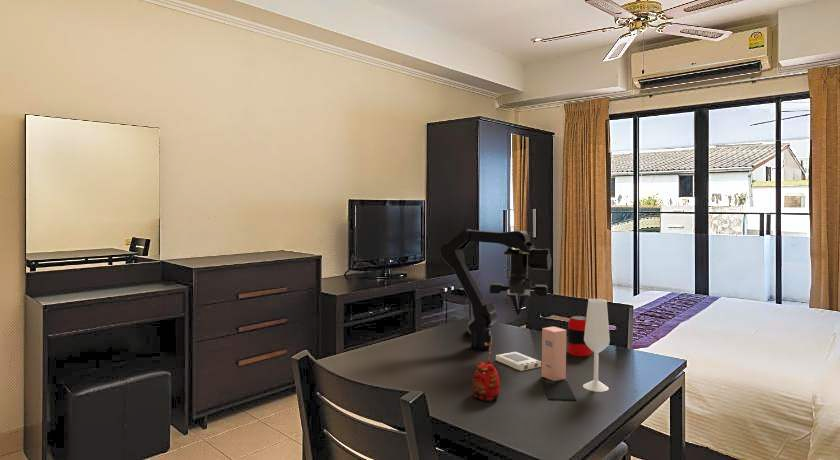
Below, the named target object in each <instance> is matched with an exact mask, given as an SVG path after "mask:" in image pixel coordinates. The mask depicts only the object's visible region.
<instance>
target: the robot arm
mask: <svg viewBox="0 0 840 460" xmlns="http://www.w3.org/2000/svg"><path fill="white" fill-rule="evenodd" d="M471 242H479V243H489V244H490V243H491V244H500V245H503V246H506V247H508V248H507V249H506V250H505V251H504V252H503V254H504V255H510V256H509V257H510V258H509V260H510V261H509V262H510V263H509V279H508V285H504V283H503V282H502V283H501V282H492V283H491V284H490V286H489V294H500V293H501V292H506V293H507V294H506V296H507V297H509V298H510V300H511V301H512V303H513V307H514V310H515V313H516V316H520V314H521V311H522V308H523V305H524V302H525V301H526V298H530V296H531V293H534V294H536V296H543V297H544V296H545V297H546V296H548V290H549V289H548V286H547V284H535V285H534V286H532V278H528V267H530V268H531V269H532V270H542V271H543V270H544V271H550V270H551V268H552V256H551V253H550V252H551V250H550V248H544V249H543V248H542V249H541V248H536V247H535V245H534V244H533V243H532V241H531V239H530V235H529V233H528V232H527V231H526V230H521V229H519V230H512V231H502V232H499V231H487V230H486V231H485V230H476V229H474V230H473V229H470V228H468V229H463V230H461V232H459V234H458V235H457V236H455V237H453V238H452V239H451V240H450V241H449V242H447V243H444V244H442V246H441V248H440V251H439V254H440V256H441V258H442V259H443V261H444V262H445V263H446V264H447V265H448V266H449V267H450V268H452V269H453V271H454V273H455V276H456V277H457V279H458V281H459V283H460V284H461V285H460V286H461V287H462V289H463V291H464V293H465V295H466V297H467V298H468V300H469V301H468V302H470V304H471V311H472V317H473V316H474V319H475V320H474V321H473V322H472V323H471V324H470V325H469V326H468V325H467V327H469V330H470V332H471V334H470V347H469V349H470V350H477V351H478V350H481V351H489V346H488V345H487V346H485V342H487V344H489V342H491V339H493V337H492V336H493V334H492V333H491V334H490V331H491V329H492V327H493V325H494V324H495V323H496V322H497V319H498V315H497V312H498V310H497V309H496V308H495V306H494V303H493V302H492V301H489V302H487V300H486V299H485V298H484V297H483V295H482V293H481V292H480V291H481V290H480V289H479V287H478V286H477V284H476V282H475V280H474V278H473V276H472V274H471V272H470V270H469V268H468V266H467V265H466V260H465V253H464V251H463V250H464V249H466V247H467V246H468V245H469V244H470V243H471ZM518 294H519V301H518ZM491 343H492V345H493V341H492V342H491ZM492 345H491V347H492Z"/></svg>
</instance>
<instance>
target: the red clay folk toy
mask: <svg viewBox="0 0 840 460" xmlns="http://www.w3.org/2000/svg"><path fill="white" fill-rule="evenodd" d="M491 342H492V343H491ZM491 342H489V344H487V342H485V346H487V345H488V346H489V350H488V357H487V361H486V362H483V361H478V363H477V365H476V369H475V371H474V373H473V377H472V379H471V381H472V388H471V389H472V395H473V397H474V398H477V399H479V400H480V401H483V402H493V400H496V399H498V398H499V396H500V391H501V379H500V377H499V371H498V370H497V369H496V367H495V366H494V365H493V364H492V361H491V356H492V352H491V351H492V346H491V345H493V338H492V339H491Z"/></svg>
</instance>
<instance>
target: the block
mask: <svg viewBox="0 0 840 460" xmlns="http://www.w3.org/2000/svg"><path fill="white" fill-rule="evenodd" d="M541 330H542V331H541V334H542V335H541V377H542V378H545V379H546V380H553V381H557V380H566V377H567V376H566V375H567V373H566V372H567V370H566V369H567V332H568V329H564V328H560V327H557V326H548V327H542V329H541Z"/></svg>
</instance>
